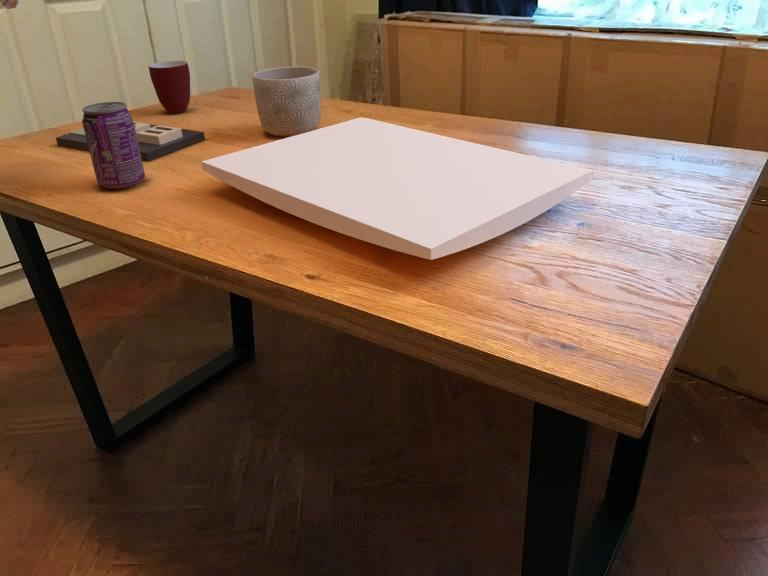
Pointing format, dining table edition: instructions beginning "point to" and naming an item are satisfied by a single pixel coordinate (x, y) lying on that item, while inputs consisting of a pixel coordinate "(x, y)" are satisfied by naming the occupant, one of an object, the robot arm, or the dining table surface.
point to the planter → (288, 100)
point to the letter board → (143, 147)
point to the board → (400, 185)
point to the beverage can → (113, 145)
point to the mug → (171, 85)
